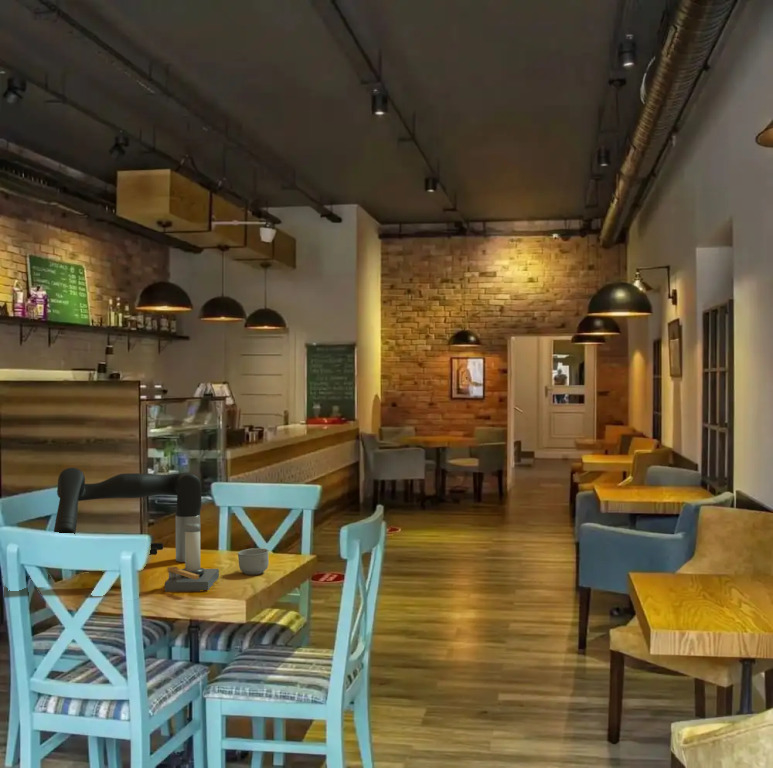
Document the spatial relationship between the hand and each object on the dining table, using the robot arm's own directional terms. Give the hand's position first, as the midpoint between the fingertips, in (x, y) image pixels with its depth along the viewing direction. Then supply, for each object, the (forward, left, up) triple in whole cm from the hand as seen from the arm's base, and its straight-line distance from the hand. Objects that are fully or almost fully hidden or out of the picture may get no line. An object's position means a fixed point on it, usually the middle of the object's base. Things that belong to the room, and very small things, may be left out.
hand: (160, 548), depth 292 cm
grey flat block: (0, +11, -12) cm, 16 cm away
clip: (+9, +10, -7) cm, 15 cm away
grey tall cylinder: (0, +11, -12) cm, 16 cm away
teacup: (-18, +29, -12) cm, 36 cm away
